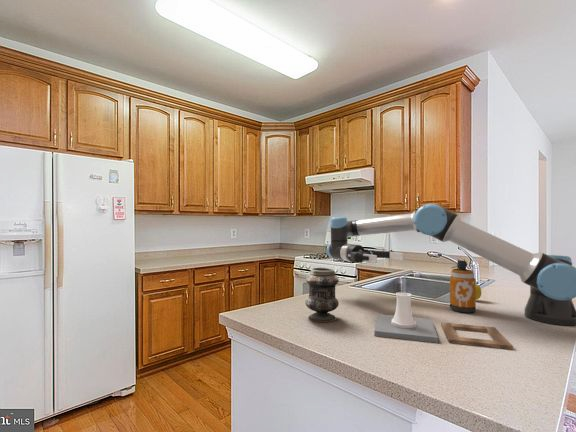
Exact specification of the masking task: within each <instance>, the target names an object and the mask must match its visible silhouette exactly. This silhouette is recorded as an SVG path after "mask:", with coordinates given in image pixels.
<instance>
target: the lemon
mask: <svg viewBox="0 0 576 432" xmlns="http://www.w3.org/2000/svg"><path fill="white" fill-rule="evenodd" d="M481 297H482V288H481V286H480V285H479V284H477V283H476V301H477V300H479V299H480V298H481Z"/></svg>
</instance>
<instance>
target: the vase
mask: <svg viewBox="0 0 576 432" xmlns="http://www.w3.org/2000/svg"><path fill="white" fill-rule="evenodd" d="M395 295H396V308H395V312H394V315H393V316H394V318H393V319H392V324H393V325H394V326H397V327H401V328H414V327H416V322H415V321H414V318H415V317H413V312H412V305H411V304H412V293H409V292H403V291H402V292H395Z"/></svg>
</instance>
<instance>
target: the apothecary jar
mask: <svg viewBox="0 0 576 432" xmlns="http://www.w3.org/2000/svg"><path fill="white" fill-rule="evenodd" d="M305 280H306V281H305V282H306V283H307V284H308V285H309V287H308V288H309V289H308V290H309V291H308V296H307V297H306V299H305V302H304V303H305V305H306V307H307V309H309V310H310V311H314V313H312V314H309V315H308V316H307V317H308V319H309V321H312V322H315V323H330V322H334V321H335V320H336V316H335V315H334V314H332V313H330V312H332V311H334V310H336V309H337V308H338V307H339V305H340V303H339V302H340V301H339V300H338V299H337V297H336V285H338V284H339V282H340V281H339V277H338V275H336V274H335V270H334V269H333V268H332V267H331V268H329V267H320V266H319V267H311V269H310V273H309V274H308V275H307V276H306V277H305Z"/></svg>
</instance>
